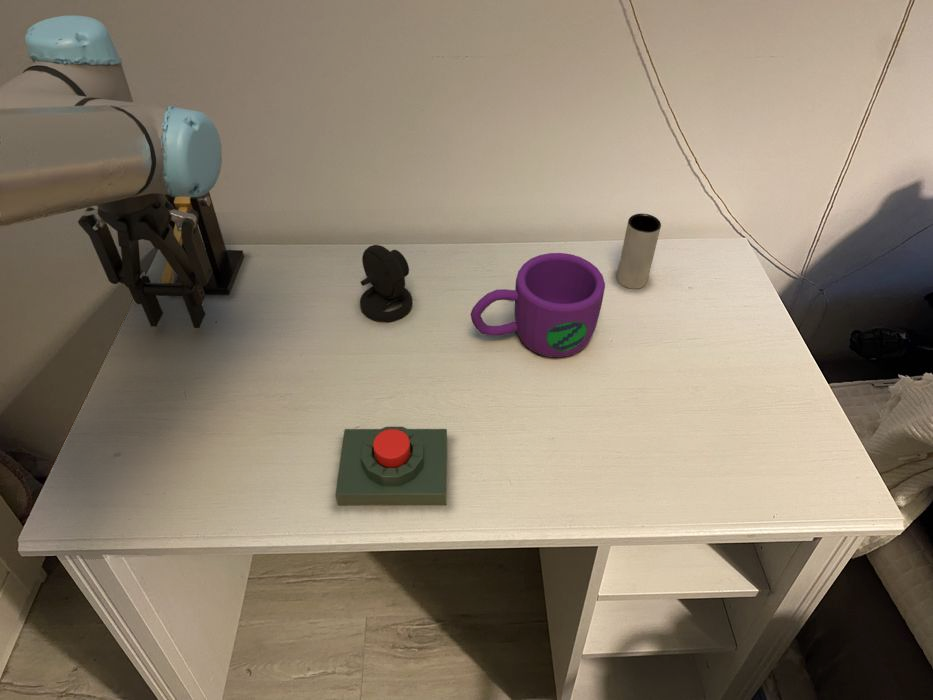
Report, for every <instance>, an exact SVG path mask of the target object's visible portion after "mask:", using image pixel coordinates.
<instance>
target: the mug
mask: <svg viewBox="0 0 933 700" xmlns="http://www.w3.org/2000/svg"><path fill="white" fill-rule="evenodd" d="M605 289H606V282H605V279H604V276H603V274H602V273H601V271H600V270H599V268H598V267H597V266H595V264H594V263H592V262H591V261H589V260H587V259H585V258H583V257H581V256H577V255H575V254H571V253H564V252H548V253H544V254H539V255H536V256H534V257H532V258H530V259H529V260H527V261H525V262H524V263H523V264H522V265H521V266H520V268H519V270H518V272H517V274H516V278H515V287H514V289H504V288H503V289H502V288H501V289H495V290H492V291H490V292H487V293H486V294H484V296H482V297H481V298H480V299H479V300H478V301H477V302H476V303H475V304H474V305H473V307H472V309H471V312H470V319H471V323H472V324H473V326H474V328H475V329H476V330H477V331H478V332H479V333H480V334H481V335H486V336H490V337H498V336H499V337H500V336H505V335H509V334H513V333H514V332H516V334H517V335H518V337H519V339H520V341H521V343H523V345H524V346H525V347H527V349H529V350H531V351H532V352H534V353H535V354H538V355H541V356H543V357H548V358H549V357H550V358H565V357H570V356H573V355H576V354H577V353H580V352H581V351H582V350H583V349H584V348H585V347H587V346H588V345H589V343H590V341H591V339H592V337H593V335H594V333H595V331H596V328H597V326H598V325H597V324H598V322H599V317H600V313H601V310H602V305H603V300H604V295H605ZM497 301H510V302H511V301H512V302H514V320H512V321H510V322H508V323H505V324H499V325H489V324H487V323H485V321H484V319H483V318H482V314H483V313H484V312H485V311H486V309H487V308H488V307H489V306H490V305H491V304H493V303H495V302H497Z"/></svg>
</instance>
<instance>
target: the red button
mask: <svg viewBox="0 0 933 700" xmlns="http://www.w3.org/2000/svg"><path fill="white" fill-rule="evenodd" d="M373 447H374V454H375V458H376V460H377V462H378V463H379V464H381V465H382V466H385V467H391V468H392V467H398V466H401V465H402V464H404V463H405V462H406V461H407V460H408V459H409V457H410V441H409V438H408V436H407V435H406V434H405V433H404V432H402V431H400V430H396V429H389V430H385V431H383V432H381V433H380V434H378V435H377V436H376V438H375V440H374V443H373Z"/></svg>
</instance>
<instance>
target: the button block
mask: <svg viewBox="0 0 933 700" xmlns="http://www.w3.org/2000/svg"><path fill="white" fill-rule="evenodd" d="M389 429H396V430H400V431H402V432H404V433H405V434H406V435H407V436H408V438H409V441H410V457H409V459H408V460H407V461H406V462H405V463H404V464H402V465H401V466H398V467H392V468H391V467H385V466H382V465H381V464H379V463H378V462H377V460H376V458H375V454H374V447H373V443H374V440H375V438H376V436H377V435H378V434H380V433H381V432H383V431H385V430H389ZM447 465H448V429H447V428H407V427H404V426H384V427H382V428H344V431H343V439H342V446H341V453H340V459H339V467H338V473H337V482H336V488H335V498H336V503H337V506H446V505H447V483H448V482H447V480H448V479H447V477H448V476H447V474H448V471H447V470H448V466H447Z"/></svg>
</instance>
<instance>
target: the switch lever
mask: <svg viewBox="0 0 933 700" xmlns="http://www.w3.org/2000/svg"><path fill="white" fill-rule="evenodd" d="M174 205H175V206H176V208H177V210H178V211H181V212H185V213H188V211H189V210H193V208H192V205H191V202H190V197H183V196H178V197H175V200H174ZM174 236H175V237H176V239H177V240H178V242H179V243H180V245H181V246H182V242H183V241H182V237H181V232H178V231H177V226H176V224H175V227H174ZM175 274H176V273H175V272H174V270H173V269H172V267H171V266H170V264H169V263H168V262H167V260H166V259H165V264H164V267H163V271H162V276H161V279H160V282H151V283H150V282H146V283H144V285H143V293H144V295H146V296H157V297H182V294H181V291H180V290H181V288H182V286H183V283H175V282H174V279H175Z"/></svg>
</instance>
